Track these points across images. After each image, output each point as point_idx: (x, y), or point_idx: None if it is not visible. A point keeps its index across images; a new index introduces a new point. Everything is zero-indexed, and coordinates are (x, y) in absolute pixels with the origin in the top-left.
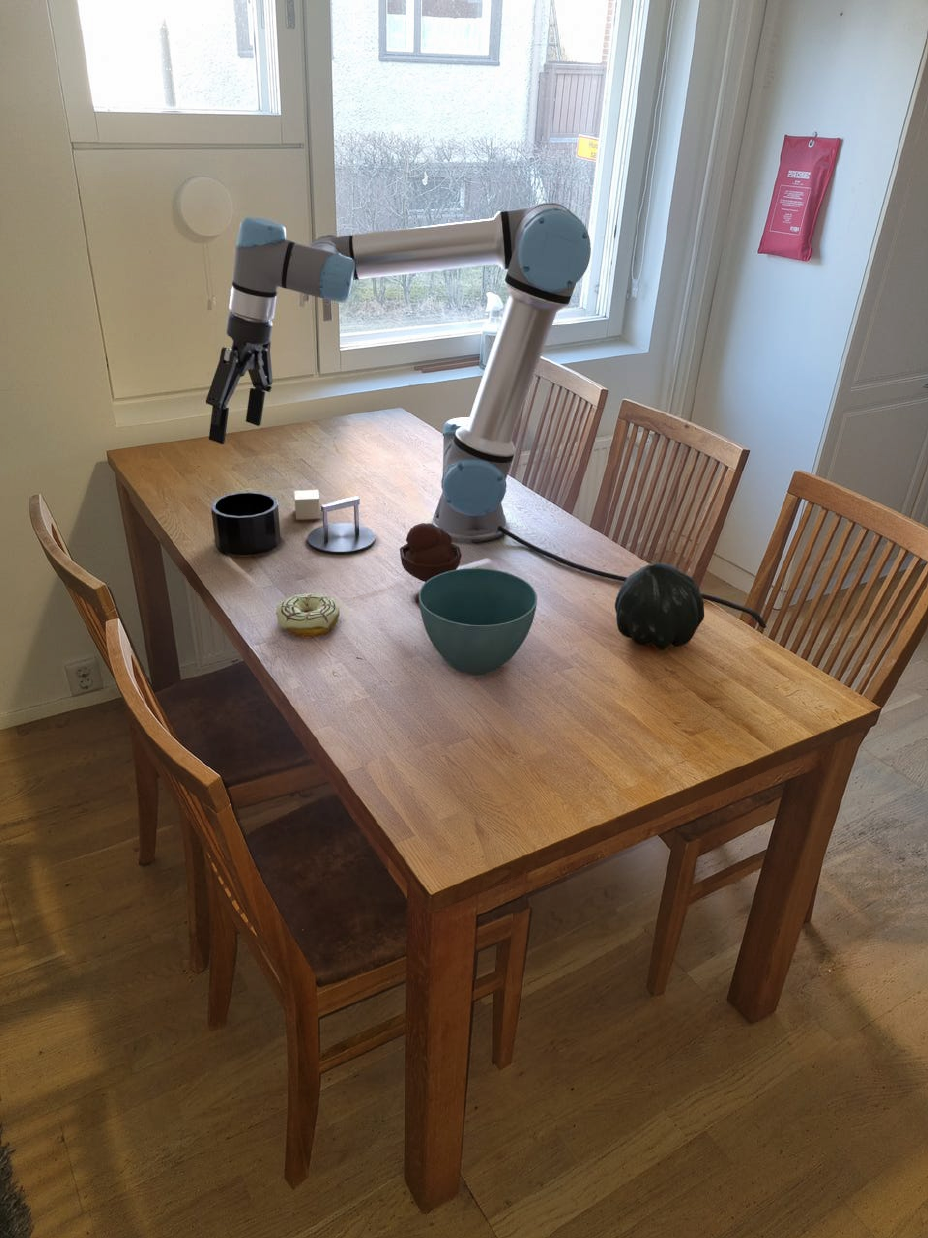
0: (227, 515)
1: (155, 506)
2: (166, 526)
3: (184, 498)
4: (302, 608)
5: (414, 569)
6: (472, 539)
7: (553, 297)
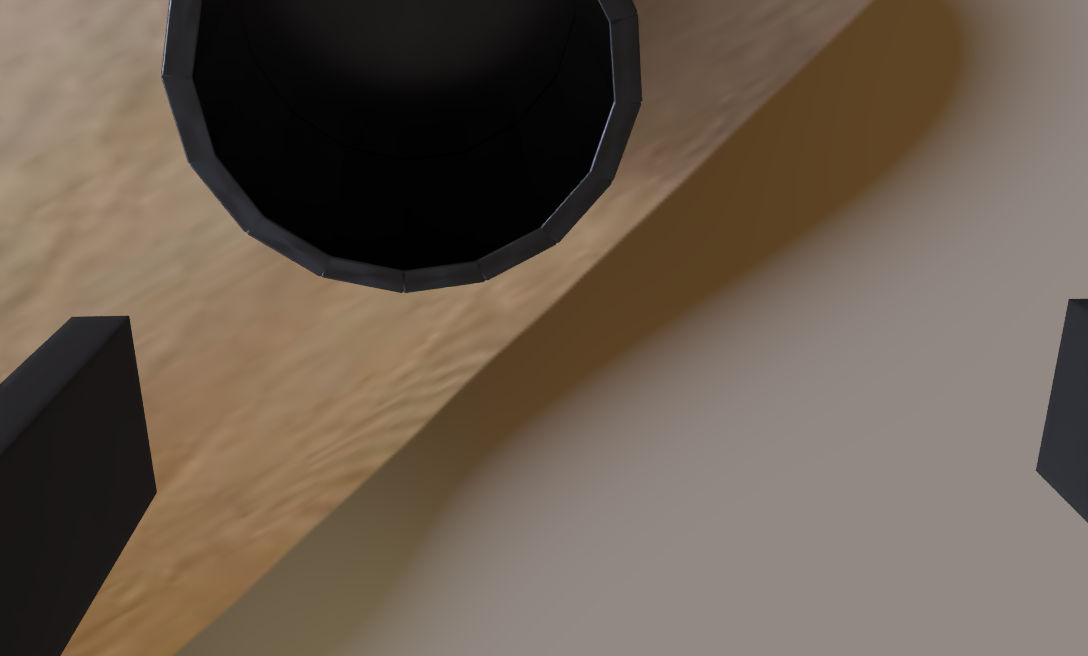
0: (624, 100)
1: (231, 586)
2: (394, 450)
3: None
4: None
5: None
6: None
7: None
